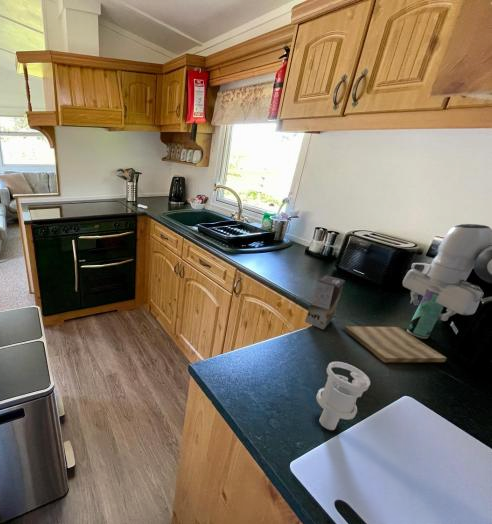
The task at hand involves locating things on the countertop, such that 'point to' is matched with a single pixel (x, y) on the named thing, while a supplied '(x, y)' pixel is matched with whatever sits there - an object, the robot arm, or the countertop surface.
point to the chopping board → (394, 344)
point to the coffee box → (324, 301)
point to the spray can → (426, 314)
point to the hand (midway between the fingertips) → (427, 311)
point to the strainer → (340, 395)
